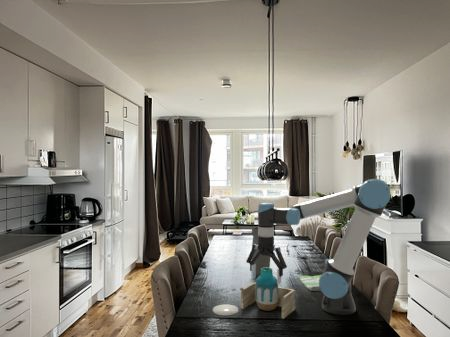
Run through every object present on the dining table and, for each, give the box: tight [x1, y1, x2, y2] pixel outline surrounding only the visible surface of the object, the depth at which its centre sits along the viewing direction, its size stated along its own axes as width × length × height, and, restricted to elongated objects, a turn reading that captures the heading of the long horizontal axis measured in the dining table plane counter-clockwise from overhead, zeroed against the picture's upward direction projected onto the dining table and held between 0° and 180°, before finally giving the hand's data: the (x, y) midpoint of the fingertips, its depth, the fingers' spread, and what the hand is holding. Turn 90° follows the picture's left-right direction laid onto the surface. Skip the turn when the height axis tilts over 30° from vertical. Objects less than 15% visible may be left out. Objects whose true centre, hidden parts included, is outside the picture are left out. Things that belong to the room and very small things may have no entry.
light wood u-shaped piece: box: [239, 282, 296, 320], centre depth 164 cm, size 22×14×10 cm, turn 56°
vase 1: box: [251, 226, 271, 278], centre depth 218 cm, size 12×12×30 cm
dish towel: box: [298, 274, 322, 292], centre depth 201 cm, size 17×23×4 cm
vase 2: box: [255, 267, 279, 312], centre depth 164 cm, size 11×11×19 cm
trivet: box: [212, 303, 239, 316], centre depth 163 cm, size 12×12×1 cm
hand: (266, 280), depth 164 cm, fingers open, 13 cm apart
